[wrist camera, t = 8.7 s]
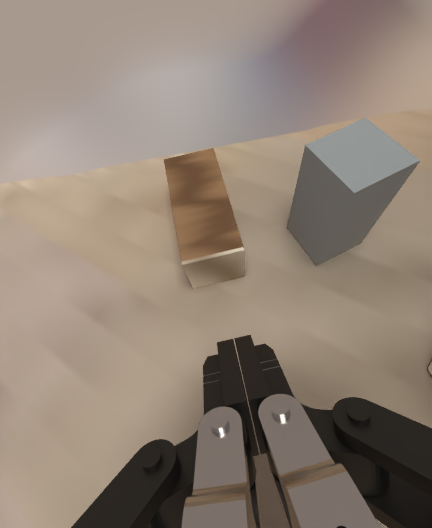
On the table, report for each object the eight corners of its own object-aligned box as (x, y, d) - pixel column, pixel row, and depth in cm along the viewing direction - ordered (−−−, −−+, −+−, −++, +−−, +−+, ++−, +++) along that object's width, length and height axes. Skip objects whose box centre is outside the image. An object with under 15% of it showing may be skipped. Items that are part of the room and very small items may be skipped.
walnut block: (244, 276, 26) (218, 184, 31) (244, 250, 21) (213, 148, 27) (193, 288, 25) (175, 194, 31) (181, 264, 21) (163, 159, 27)
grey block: (327, 207, 28) (365, 117, 19) (360, 242, 26) (420, 160, 17) (286, 227, 27) (305, 144, 19) (316, 266, 25) (354, 193, 16)
